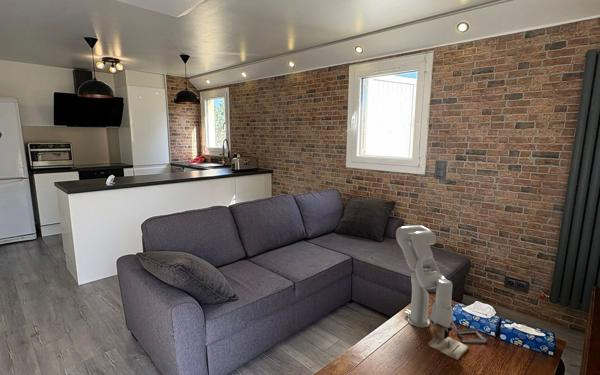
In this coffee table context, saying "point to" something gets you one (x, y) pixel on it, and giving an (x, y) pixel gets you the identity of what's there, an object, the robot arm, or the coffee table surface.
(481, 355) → the coffee table surface
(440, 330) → the walnut sanding block
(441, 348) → the pine board
